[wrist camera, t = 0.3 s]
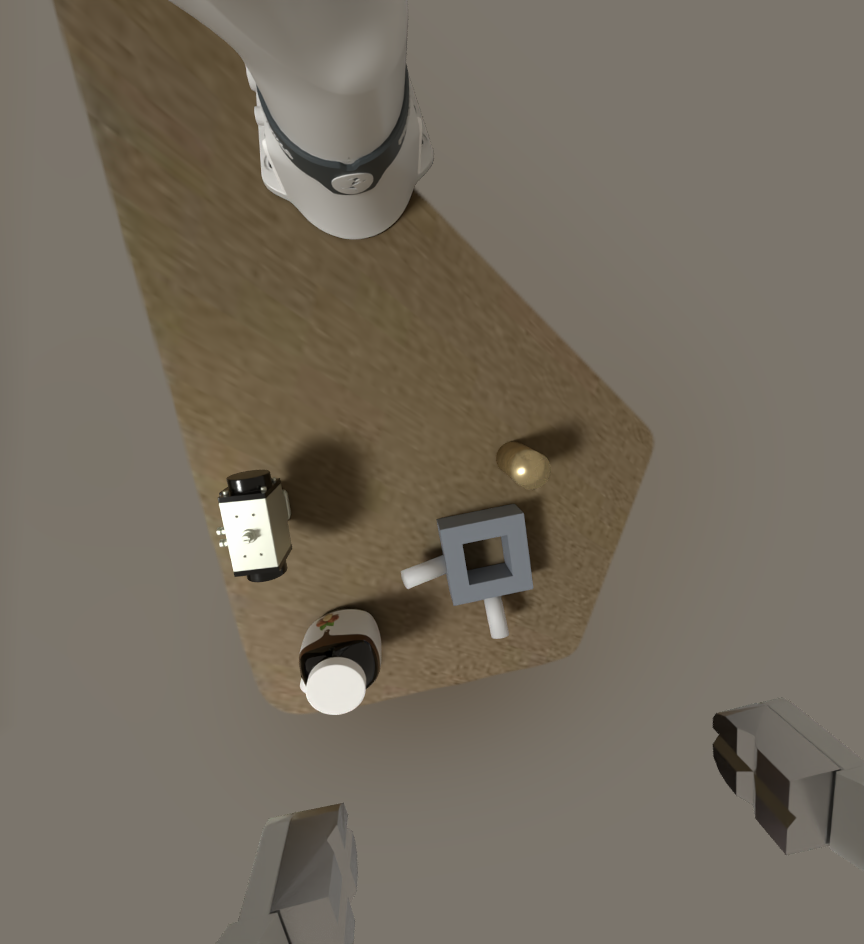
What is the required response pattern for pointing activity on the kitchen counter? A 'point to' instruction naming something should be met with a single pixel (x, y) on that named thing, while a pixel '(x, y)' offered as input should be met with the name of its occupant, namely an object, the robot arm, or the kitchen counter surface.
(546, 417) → the kitchen counter surface
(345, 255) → the kitchen counter surface
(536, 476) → the cylinder
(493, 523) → the coupling block
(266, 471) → the pneumatic valve
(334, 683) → the spread jar
